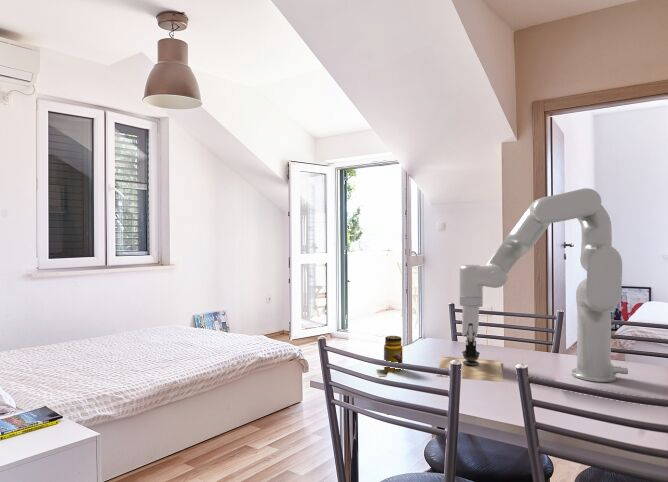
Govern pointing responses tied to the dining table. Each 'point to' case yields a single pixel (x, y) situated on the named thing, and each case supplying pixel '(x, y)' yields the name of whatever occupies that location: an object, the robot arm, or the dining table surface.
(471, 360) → the dark grey tall piece
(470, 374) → the laid floor planks
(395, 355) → the condiment
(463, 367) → the board
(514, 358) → the dining table surface
